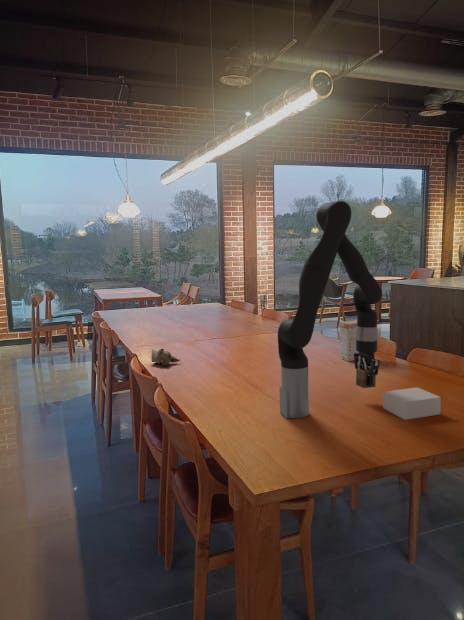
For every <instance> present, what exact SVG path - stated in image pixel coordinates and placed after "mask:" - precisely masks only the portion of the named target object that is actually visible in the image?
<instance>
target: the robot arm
mask: <svg viewBox="0 0 464 620" xmlns="http://www.w3.org/2000/svg"><path fill="white" fill-rule="evenodd" d="M315 218H316V221H317V223H318V225H319V227H320V229H321V230H322V231H323V233H322V236H321V238H320V240H319V241H318V243H317V244H316V246H315V247H314V249H312V251H311V252H310V253H309V255H308V257H307V258H306V259H305V262H304V263H303V267H302V270H301V272H300V273H301V274H300V276H299V281H298V297H299V298H298V306H297V309H296V312H295V315H294V318H287V319H284V320H283V321H282V322H281V323H280V324H279V326H278V330H277V345H278V346H277V348H278V357H279V360H280V369H281V372H280V373H281V375H280V377H281V386H279V413H280V414H281V415H282V416H283V417H285V419H303V418H306V417H308V416H309V414H310V405H309V404H310V403H309V401H310V400H309V398H310V397H309V396H310V395H309V393H310V392H309V390H310V389H309V359H308V356H307V355H306V353H305V351H304V348H305V347H307V346H308V345H309V343H310V342H311V339H312V337H313V334H314V330H315V329H314V328H315V323H316V319H317V314H318V312H319V308H320V305H321V301H322V299H323V295H324V292H325V289H326V287H327V284H328V282H329V278H330V275H331V271H332V268H333V266H334V262H335V259H336V258H337V257H336V256H337V255H338V257H339V258H340V260H341V263H342V264H343V267H344V269H345V271H346V274H347V275H348V278H349V279H350V281H351V282H352V283H354V284H357V285H356V287H354V290H353V295H352V296H353V298H352V299H353V302H354V308H355V312H356V315H357V317H356V320H357V330H356V351H358V352H359V353H354V368H355V370H356V369H359V368H360V369H361V368H365V370H366V371H367V386H373V377H374V375H376V376H378V375H379V368H380V361H381V360H380V359H376V357H375V354H376V353H377V352H378V337H379V336H378V335H379V334H378V313H377V312H376V310H374V309H372V307H371V305H375V304H378V303H379V302H381V300H382V298H383V292H382V287H381V286H380V284H379V282H378V281H377V280H376V278H375V277H374V276H373V274H371V272H370V271H369V269H368V266H367V264H366V262H365V260H364V257H363V255H362V254H361V252H360V251H359V250H358V249H357V247H356V246H355V245H354V244H353V243H352V242H351V240H350V239H349V238H348V237H347V235H346V233H347V230H348V227H349V225H350V223H351V219H352V208H351V206H350V205H349V203H348V202H346V201H344V200H337V201H330V202H325V203H323V204H321V205H320V206H319V207H318V208H317V210H316V216H315ZM369 369H371V370H370V371H369ZM374 370H375V372H374Z"/></svg>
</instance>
